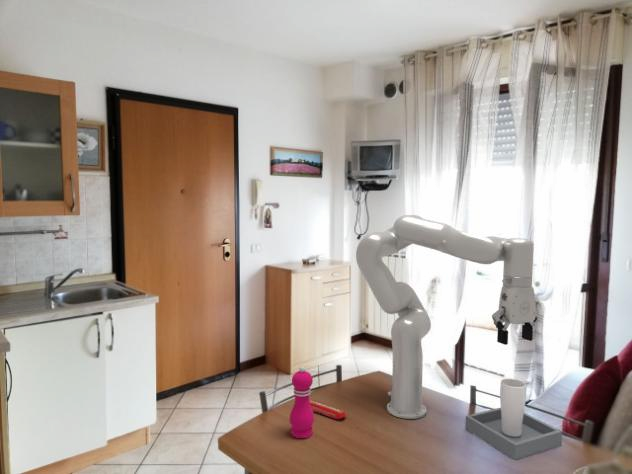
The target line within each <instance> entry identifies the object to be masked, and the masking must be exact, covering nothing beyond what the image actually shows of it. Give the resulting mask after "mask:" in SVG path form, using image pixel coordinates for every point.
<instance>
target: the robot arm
mask: <svg viewBox="0 0 632 474" xmlns="http://www.w3.org/2000/svg"><path fill="white" fill-rule="evenodd" d="M411 245H417V246H421V247H424V248H428V249H429V250H435V251H438V252H441V253H442V254H446V255H450V256H452V257H455V258H458V259H460V260H465V261H469V262H472V263H475V264H480V265H492V264H493V263H494V264H495V263H497V262H503V272H502V273H503V275H502V280H501V281H502V286H501V290H500V293H499V294H500V295H499V296H500V297H499V301H498V309H497V310H496V311H495V312H493V314H492V315H491V318H492V320H493V321H492V322H493V325H494V326H495V328H496V329H497V337H496V339H497V340H496V342H497V343H499V344H502V345H504V346H505V345H508V344H509V330H508V328H509V326H510V325H519V324H521V325H522V326H521V338H522V339H523V340H527V341H530V342H531V341H533V335H534V327H535V323H536V322H537V321H538V317H539V316H538V315H539V313H540V310H539V309H537V308H536V294H535V289H534V286H533V274H534V273H533V270H534V268H533V267H534V242H533V241H532V239H528V238H517V237H516V238H515V237H514V238H505V237H498V236H485V237H484V236H479V235H475V234H471V233H468V232H464V231H461V230H458V229H456V228H454V227H452V226H451V225H449V224H448V223H444V222H439V221H435V220H430V219H425V218H423V217H422V216H420V215H417V214H416V215H415V214H404V215H401V216H399V217H398V218H397V219H396V220H395V221H394V223H393V226H392V227H391V228H388V229H386V230H385V231H378V232H377V231H376V232H371V233H368V234H366V235H365V236H363V237H362V238H361V240H360V241H359V243H358V245H357V246H356V251H355V252H356V253H355V259H356V263H357V266H358V269H359V270H360V272H361V274H362V275H363V277H364V279H365V280H366V282H367V284H368V287H369V288H370V290H371V292H372V294H373V296H374V298H375V300H376V301H377V303H378V305H379V307H380V308H381V310H382V311H383V312H384V313H386V314H388V315H396V314H397V316H398V317H397V318H396V319H395V320H394V322H393V323H392V326H391V329H390V336H391V337H390V338H391V346H392V347H391V348H392V378H391V379H392V380H391V382H392V385H391V388H392V389H391V391H388V392H387V395H388V397H390V401H389V402H388V403H387V405H386V410H387V412H388V413H389V414H390V415H392V416H394V417H397V418H399V419H405V420H416V419H417V420H418V419H421V418H423V417H425V416H426V414H427V407H426V406H425V405H424V404H423V401H422V399H423V367H424V366H423V365H424V364H423V362H424V361H423V360H424V359H423V357H424V356H423V347H422V339H423V338H425V336H426V335H428V334H429V332H430V330H431V327H432V321H431V318H430V316H429V313H428V312H427V310H426V308H425V307H424V305H423V304H422V302H421V300H420V298H419V297H418V295H417V293H416V292H415V290H414V288H413V287H411V285H409V284H408V283H407V282H402V281H396V278H395V277H394V276H393V274H392V272H391V269H390V268H389V267H388V266H387V265H386V264H385V262H384V260H383V258H384V257H385V258H386V257H388V256H392V255H395V254H396V253H398V252H400V251H402V250H403V249H405V248H407V247H410V246H411Z"/></svg>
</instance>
